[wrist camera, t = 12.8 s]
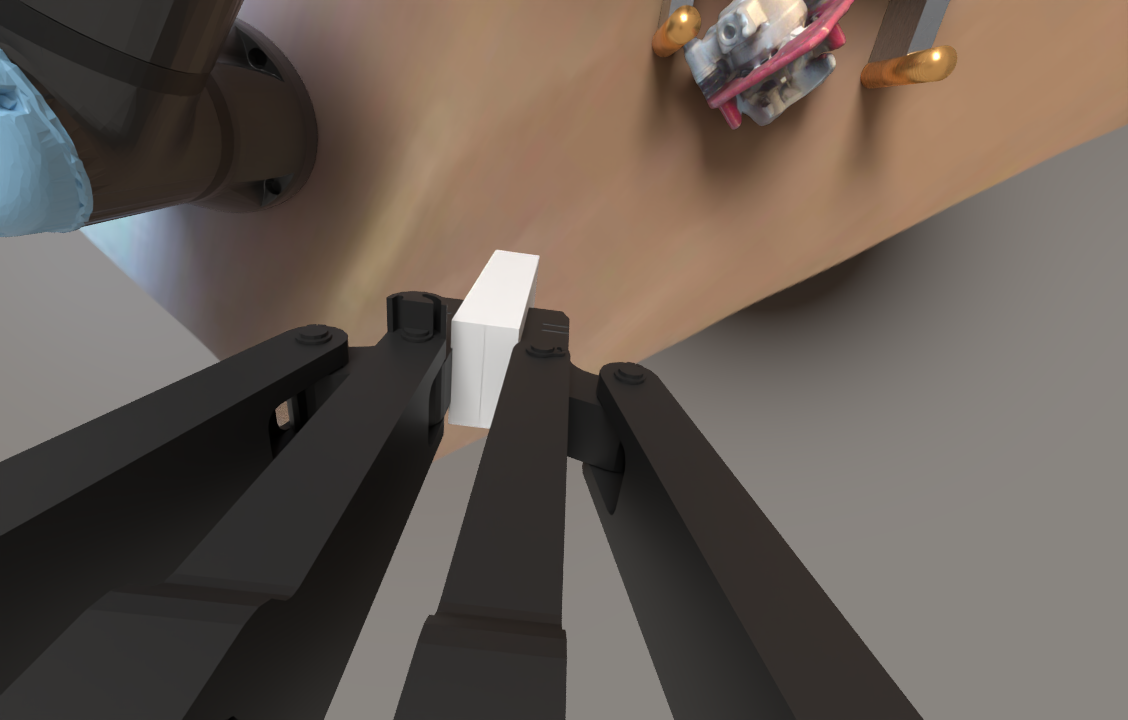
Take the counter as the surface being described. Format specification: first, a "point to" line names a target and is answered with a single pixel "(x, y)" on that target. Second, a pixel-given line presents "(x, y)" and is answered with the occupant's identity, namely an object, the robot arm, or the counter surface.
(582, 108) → the counter surface
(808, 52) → the brake caliper
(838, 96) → the counter surface
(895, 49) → the bracket
